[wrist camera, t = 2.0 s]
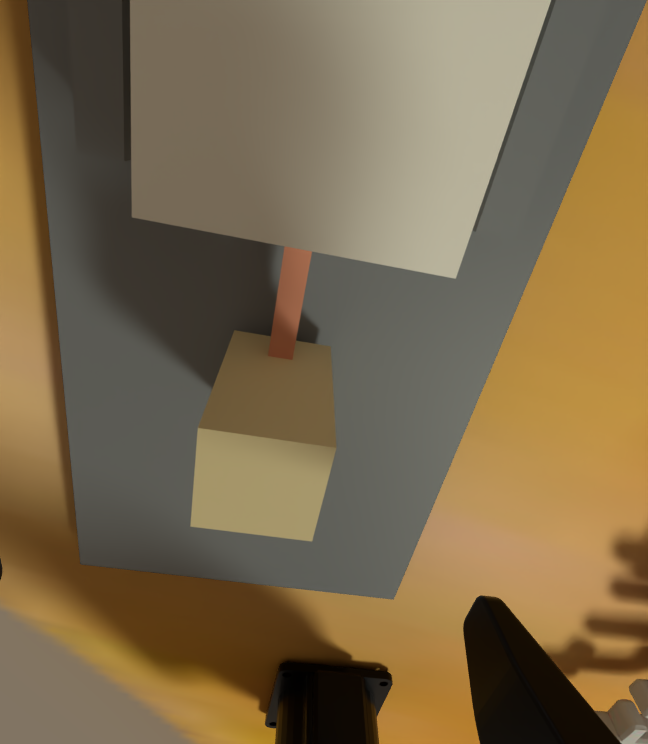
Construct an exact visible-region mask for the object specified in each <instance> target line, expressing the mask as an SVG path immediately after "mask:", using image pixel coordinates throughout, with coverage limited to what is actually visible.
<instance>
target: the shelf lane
mask: <svg viewBox="0 0 648 744" xmlns="http://www.w3.org/2000/svg"><path fill="white" fill-rule="evenodd" d="M646 1H647V0H551V2H550V5H549V8H548V11H547V14H546V17H545V20H544V23H543V26H542V28H541V31H540V34H539V37H538V40H537V43H536V46H535V49H534V52H533V55H532V58H531V61H530V64H529V66H528V69H527V72H526V75H525V78H524V81H523V84H522V87H521V90H520V93H519V96H518V99H517V101H516V104H515V107H514V110H513V113H512V116H511V119H510V122H509V125H508V128H507V131H506V134H505V136H504V139H503V142H502V145H501V148H500V151H499V154H498V157H497V160H496V163H495V166H494V169H493V171H492V174H491V177H490V180H489V183H488V186H487V189H486V192H485V195H484V198H483V201H482V204H481V206H480V209H479V212H478V215H477V218H476V221H475V224H474V227H473V230H472V233H471V236H470V239H469V241H468V244H467V247H466V250H465V253H464V256H463V259H462V262H461V265H460V268H459V271H458V274H457V276H456V279H454V278H449V277H444V276H438V275H433V274H428V273H423V272H417V271H412V270H407V269H402V268H396V267H391V266H386V265H380V264H375V263H370V262H365V261H359V260H354V259H349V258H344V257H338V256H333V255H328V254H322V253H317V252H312V254H311V260H310V265H309V271H308V277H307V282H306V288H305V293H304V299H303V304H302V310H301V315H300V321H299V326H298V332H297V337H296V341H301V342H307V343H313V344H319V345H325V346H331V360H332V378H333V395H334V413H335V431H336V452H335V456H334V460H333V463H332V467H331V471H330V475H329V479H328V482H327V486H326V490H325V494H324V498H323V502H322V505H321V509H320V513H319V517H318V521H317V525H316V528H315V532H314V536H313V540H312V541H304V540H295V539H287V538H279V537H271V536H263V535H255V534H247V533H239V532H231V531H223V530H214V529H206V528H198V527H190V525H191V512H192V499H193V485H194V472H195V458H196V445H197V432H198V426H199V423H200V421H201V418H202V415H203V413H204V410H205V407H206V405H207V402H208V399H209V397H210V394H211V391H212V389H213V386H214V383H215V381H216V378H217V375H218V373H219V370H220V367H221V365H222V362H223V359H224V357H225V354H226V351H227V349H228V346H229V343H230V341H231V338H232V335H233V333H234V330H236V331H242V332H248V333H254V334H260V335H266V336H271V333H272V326H273V319H274V313H275V306H276V300H277V293H278V286H279V280H280V273H281V267H282V260H283V253H284V247H285V246H280V245H275V244H270V243H264V242H259V241H254V240H249V239H243V238H238V237H233V236H227V235H222V234H217V233H212V232H206V231H201V230H196V229H191V228H185V227H180V226H175V225H169V224H164V223H159V222H154V221H148V220H143V219H138V218H133V217H132V189H131V72H130V0H27V2H28V13H29V23H30V34H31V44H32V55H33V66H34V76H35V87H36V98H37V108H38V119H39V130H40V140H41V151H42V161H43V172H44V183H45V193H46V204H47V215H48V225H49V236H50V247H51V257H52V268H53V278H54V289H55V300H56V310H57V321H58V332H59V342H60V353H61V364H62V374H63V385H64V395H65V406H66V417H67V427H68V438H69V449H70V459H71V470H72V480H73V491H74V502H75V512H76V523H77V534H78V544H79V555H80V564H82V565H91V566H100V567H109V568H118V569H127V570H135V571H144V572H153V573H162V574H171V575H180V576H189V577H198V578H207V579H216V580H224V581H233V582H242V583H251V584H260V585H269V586H278V587H287V588H296V589H305V590H314V591H322V592H331V593H340V594H349V595H358V596H367V597H376V598H385V599H394V597H395V595H396V593H397V590H398V588H399V586H400V583H401V581H402V579H403V576H404V574H405V571H406V569H407V567H408V564H409V562H410V560H411V557H412V555H413V552H414V550H415V548H416V545H417V543H418V541H419V538H420V536H421V534H422V531H423V529H424V526H425V524H426V522H427V519H428V517H429V515H430V512H431V510H432V507H433V505H434V503H435V500H436V498H437V496H438V493H439V491H440V489H441V486H442V484H443V481H444V479H445V477H446V474H447V472H448V470H449V467H450V465H451V463H452V460H453V458H454V455H455V453H456V451H457V448H458V446H459V444H460V441H461V439H462V436H463V434H464V432H465V429H466V427H467V425H468V422H469V420H470V418H471V415H472V413H473V410H474V408H475V406H476V403H477V401H478V399H479V396H480V394H481V392H482V389H483V387H484V384H485V382H486V380H487V377H488V375H489V373H490V370H491V368H492V365H493V363H494V361H495V358H496V356H497V354H498V351H499V349H500V347H501V344H502V342H503V339H504V337H505V335H506V332H507V330H508V328H509V325H510V323H511V320H512V318H513V316H514V313H515V311H516V309H517V306H518V304H519V302H520V299H521V297H522V294H523V292H524V290H525V287H526V285H527V283H528V280H529V278H530V276H531V273H532V271H533V268H534V266H535V264H536V261H537V259H538V257H539V254H540V252H541V249H542V247H543V245H544V242H545V240H546V238H547V235H548V233H549V231H550V228H551V226H552V223H553V221H554V219H555V216H556V214H557V212H558V209H559V207H560V204H561V202H562V200H563V197H564V195H565V193H566V190H567V188H568V186H569V183H570V181H571V178H572V176H573V174H574V171H575V169H576V167H577V164H578V162H579V160H580V157H581V155H582V152H583V150H584V148H585V145H586V143H587V141H588V138H589V136H590V133H591V131H592V129H593V126H594V124H595V122H596V119H597V117H598V115H599V112H600V110H601V107H602V105H603V103H604V100H605V98H606V96H607V93H608V91H609V88H610V86H611V84H612V81H613V79H614V77H615V74H616V72H617V70H618V67H619V65H620V62H621V60H622V58H623V55H624V53H625V51H626V48H627V46H628V44H629V41H630V39H631V36H632V34H633V32H634V29H635V27H636V25H637V22H638V20H639V17H640V15H641V13H642V10H643V8H644V6H645V3H646Z"/></svg>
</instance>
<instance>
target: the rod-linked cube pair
mask: <svg viewBox="0 0 648 744" xmlns="http://www.w3.org/2000/svg"><path fill="white" fill-rule="evenodd" d="M550 2H551V0H130V72H131V189H132V217H133V218H138V219H143V220H148V221H154V222H159V223H164V224H169V225H175V226H180V227H185V228H191V229H196V230H201V231H206V232H212V233H217V234H222V235H227V236H233V237H238V238H243V239H249V240H254V241H259V242H264V243H270V244H275V245H280V246H285V247H284V253H283V260H282V267H281V273H280V280H279V286H278V293H277V300H276V306H275V313H274V319H273V326H272V333H271V336H266V335H260V334H254V333H248V332H242V331H236V330H234V333H233V335H232V338H231V341H230V343H229V346H228V349H227V351H226V354H225V357H224V359H223V362H222V365H221V367H220V370H219V373H218V375H217V378H216V381H215V383H214V386H213V389H212V391H211V394H210V397H209V399H208V402H207V405H206V407H205V410H204V413H203V415H202V418H201V421H200V423H199V426H198V432H197V445H196V458H195V472H194V485H193V499H192V512H191V525H190V527H198V528H206V529H214V530H223V531H231V532H239V533H247V534H255V535H263V536H271V537H279V538H287V539H295V540H304V541H312V540H313V536H314V532H315V528H316V525H317V521H318V517H319V513H320V509H321V505H322V502H323V498H324V494H325V490H326V486H327V482H328V479H329V475H330V471H331V467H332V463H333V460H334V456H335V452H336V431H335V413H334V395H333V378H332V360H331V346H325V345H319V344H313V343H307V342H301V341H296V337H297V332H298V326H299V321H300V315H301V310H302V304H303V299H304V293H305V288H306V282H307V277H308V271H309V265H310V260H311V254H312V252H317V253H322V254H328V255H333V256H338V257H344V258H349V259H354V260H359V261H365V262H370V263H375V264H380V265H386V266H391V267H396V268H402V269H407V270H412V271H417V272H423V273H428V274H433V275H438V276H444V277H449V278H454V279H456V276H457V274H458V271H459V268H460V265H461V262H462V259H463V256H464V253H465V250H466V247H467V244H468V241H469V239H470V236H471V233H472V230H473V227H474V224H475V221H476V218H477V215H478V212H479V209H480V206H481V204H482V201H483V198H484V195H485V192H486V189H487V186H488V183H489V180H490V177H491V174H492V171H493V169H494V166H495V163H496V160H497V157H498V154H499V151H500V148H501V145H502V142H503V139H504V136H505V134H506V131H507V128H508V125H509V122H510V119H511V116H512V113H513V110H514V107H515V104H516V101H517V99H518V96H519V93H520V90H521V87H522V84H523V81H524V78H525V75H526V72H527V69H528V66H529V64H530V61H531V58H532V55H533V52H534V49H535V46H536V43H537V40H538V37H539V34H540V31H541V28H542V26H543V23H544V20H545V17H546V14H547V11H548V8H549V5H550Z"/></svg>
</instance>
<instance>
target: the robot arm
mask: <svg viewBox="0 0 648 744" xmlns="http://www.w3.org/2000/svg"><path fill="white" fill-rule="evenodd" d="M1 576H2V564H1V559H0V579H1ZM463 632H464V641H465V648H466V656H467V664H468V672H469V679H470V687H471V695H472V703H473V709H474V716H475V721H476V726H477V731H478V736H479V740H480V744H622V743H621V742H620V741H619V740H618V739H617V737H616V736H615V735H614V734H613V733H612V731H611V730H610V729H609V728H608V727H607V725H606V724H605V723H604V722H603V721H602V719H601V718H600V717H599V716H598V715H597V713H596V712H595V711H594V710H593V709H592V707H591V706H590V705H589V704H588V703H587V701H586V700H585V699H584V698H583V697H582V696H581V694H580V693H579V692H578V691H577V690H576V688H575V687H574V686H573V685H572V684H571V682H570V681H569V680H568V679H567V678H566V676H565V675H564V674H563V673H562V672H561V670H560V669H559V668H558V667H557V666H556V664H555V663H554V662H553V661H552V660H551V658H550V657H549V656H548V655H547V654H546V652H545V651H544V650H543V649H542V648H541V646H540V645H539V644H538V643H537V642H536V640H535V639H534V638H533V637H532V636H531V634H530V633H529V632H528V631H527V630H526V628H525V627H524V626H523V625H522V624H521V622H520V621H519V620H518V619H517V618H516V616H515V615H514V614H513V613H512V612H511V610H510V609H509V608H508V607H507V606H506V604H505V603H504V602H503V601H502V600H501V599H499V598H497V597H490V596H479V597H477V598H476V600H475V602H474V604H473V605H472V607H471V609H470V611H469V613H468V614H467V616H466V618H465V621H464V626H463ZM391 686H392V675H391V674H390V673H388V672H384V671H373V670H363V669H352V668H342V667H331V666H321V665H310V664H300V663H289V662H287V663H282V664H280V665H279V667H278V671H277V675H276V679H275V683H274V686H273V690H272V694H271V698H270V702H269V706H268V710H267V713H266V720H265V725H266V726H267V727H269V728H276V739H275V744H379V738H378V728H377V715H378V713H379V711H380V709H381V707H382V705H383V703H384V701H385V699H386V697H387V695H388V692H389V690H390V688H391Z"/></svg>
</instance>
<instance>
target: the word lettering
mask: <svg viewBox="0 0 648 744" xmlns="http://www.w3.org/2000/svg"><path fill="white" fill-rule="evenodd" d="M629 691H630V693H631V695H632V697H633V698H634V700H635V702H636V704H637V706H638V708H639V710H640V711H641V713H642V714H639V712H638V710H637V708H636V706H635V704H634V703H633V702H632V701H630V700H627V699H621V700H618V701H617V702H616V703H615V704H614V705H613V706H612V707H611V708H610V709H609V710H608V711H607V712H604V711H595V712H596V713H597V715H598V716H599V717H600V718H601V719H602V721H603V722H604V723H605V724H606V725H607V727H608V728H609V729H610V730H611V731H612V733H613V734H614V735H615V736H616V737H617V739H618V740H619V741H620V742H621V743H622V744H648V680H646V679H636V680H635V681H634V682H633V683H632V684H631V685H630V686H629Z"/></svg>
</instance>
